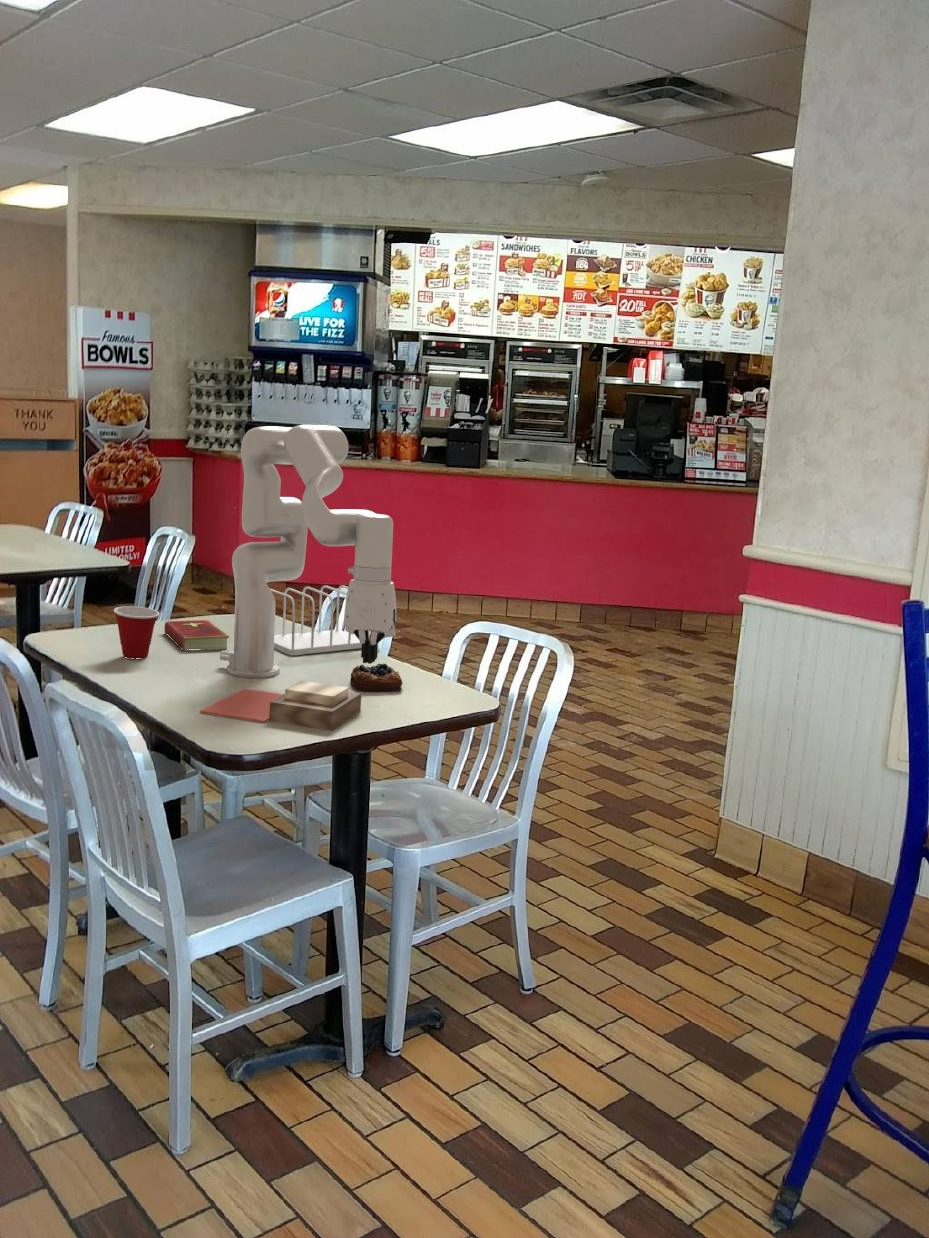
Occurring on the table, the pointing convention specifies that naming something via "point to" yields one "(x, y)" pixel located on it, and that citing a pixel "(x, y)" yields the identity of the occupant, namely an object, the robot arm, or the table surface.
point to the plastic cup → (135, 630)
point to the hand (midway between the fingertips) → (369, 661)
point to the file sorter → (313, 640)
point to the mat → (244, 705)
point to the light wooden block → (316, 693)
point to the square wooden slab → (314, 712)
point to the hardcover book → (196, 634)
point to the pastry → (376, 679)
